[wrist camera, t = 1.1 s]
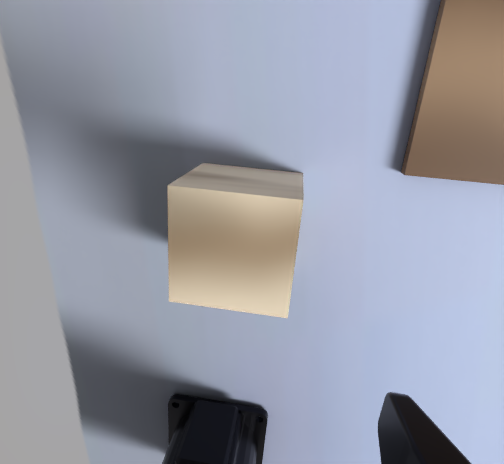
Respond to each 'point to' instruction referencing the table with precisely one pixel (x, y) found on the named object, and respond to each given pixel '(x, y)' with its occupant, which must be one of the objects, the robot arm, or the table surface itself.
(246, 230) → the maple cube
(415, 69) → the table surface
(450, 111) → the walnut board
